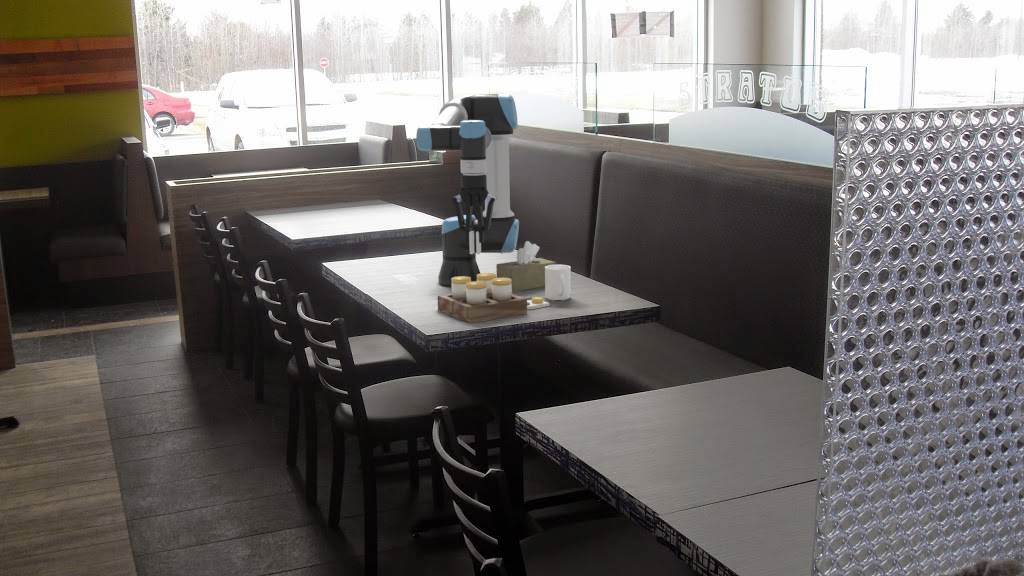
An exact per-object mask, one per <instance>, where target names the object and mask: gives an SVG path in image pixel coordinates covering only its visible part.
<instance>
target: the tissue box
mask: <svg viewBox="0 0 1024 576" xmlns="http://www.w3.org/2000/svg"><path fill="white" fill-rule="evenodd" d="M540 248H541V247H540V246H538V245H537V244H536V243H531V242H530V241H529V240H526V241H525V242H524V245H523V248H522V247H519V249H518V250H517V252H516V261H509V262H502V263H497V264H496V266H495V267H496V278H510V279H512V292H517V291H523V290H524V291H525V290H530V289H535V288H542V287H543V288H544V287H545V266H548V265H557V264H556V261H553V260H548V259H545V258H541V257H538V258H536V256H537V253H538V252H539V250H540Z"/></svg>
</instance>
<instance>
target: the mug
mask: <svg viewBox="0 0 1024 576" xmlns="http://www.w3.org/2000/svg"><path fill="white" fill-rule="evenodd" d="M571 270H572V269H571V266H570V265H567V264H556V265H548V266H545V286H544V295H545V296H544V297H545V298H546V299H547V300H549V301H555V300H561V301H566V299H567V300H569V299H570V298H571V296H572V295H571V294H572V291H571V288H572V287H571V286H572V285H571V275H572V274H571V273H572V272H571Z"/></svg>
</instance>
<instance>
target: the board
mask: <svg viewBox="0 0 1024 576" xmlns="http://www.w3.org/2000/svg"><path fill="white" fill-rule="evenodd" d="M523 297H524V296H520V295H517V294H514V293H512V299H511V300H505V301H495V300H492V295H487V296H486V300H487V303H486V304H480V305H469V304H467V300H466V299H461V300H458V299H453V298H452V293H446V294H440V295H437V311H439V312H441V313H444V314H446V315H449V316H452V317H454V318H457V319H459V320H462V321H464V322H466V321H467V323H469V324H472V323H473V322H474V323H479V322H486V321H492V320H496V319H497V320H498V319H504V318H507V317H508V318H509V317H514V316H520V315H521V316H522V315H528V310H527V299H526V298H523ZM474 323H473V324H474Z"/></svg>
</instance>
